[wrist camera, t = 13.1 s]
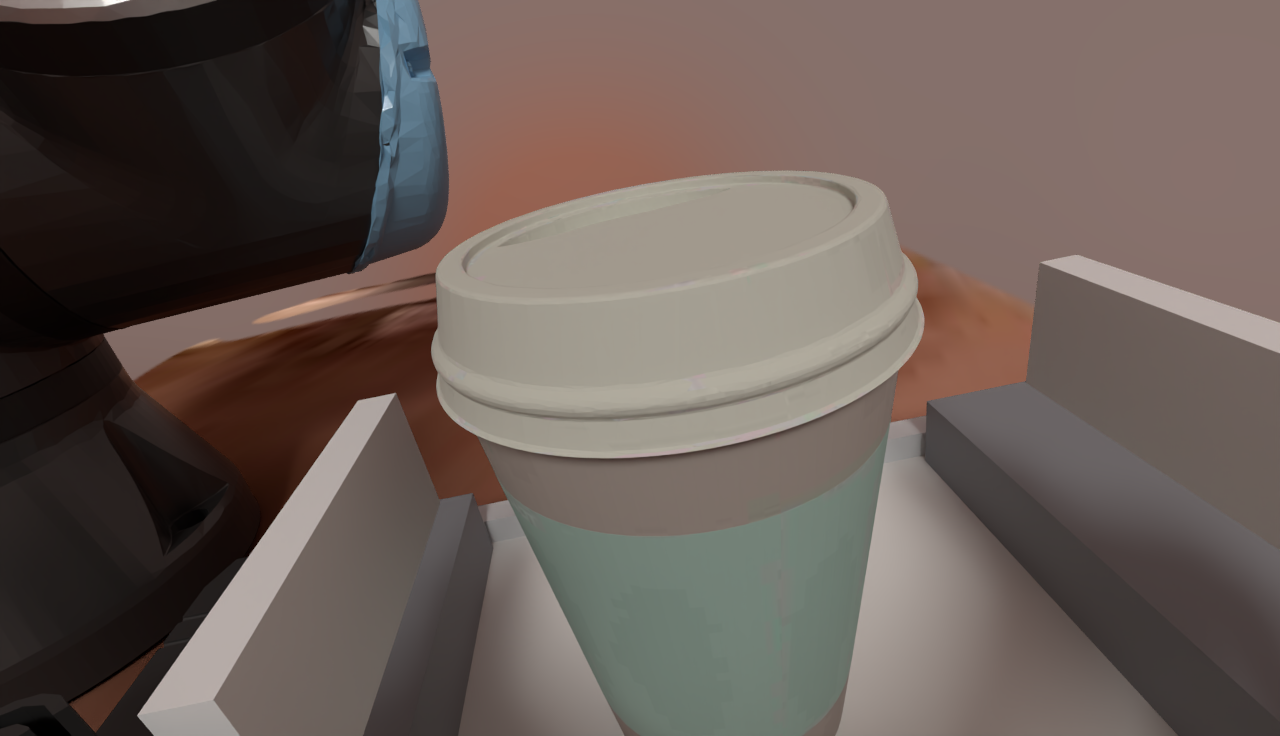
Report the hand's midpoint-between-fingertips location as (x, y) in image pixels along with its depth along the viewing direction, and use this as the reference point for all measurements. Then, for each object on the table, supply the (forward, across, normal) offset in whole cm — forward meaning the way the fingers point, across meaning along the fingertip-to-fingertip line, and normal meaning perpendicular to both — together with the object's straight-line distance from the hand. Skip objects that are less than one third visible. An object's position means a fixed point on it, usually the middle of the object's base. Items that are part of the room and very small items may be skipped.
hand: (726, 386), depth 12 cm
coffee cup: (0, -1, -8) cm, 8 cm away
